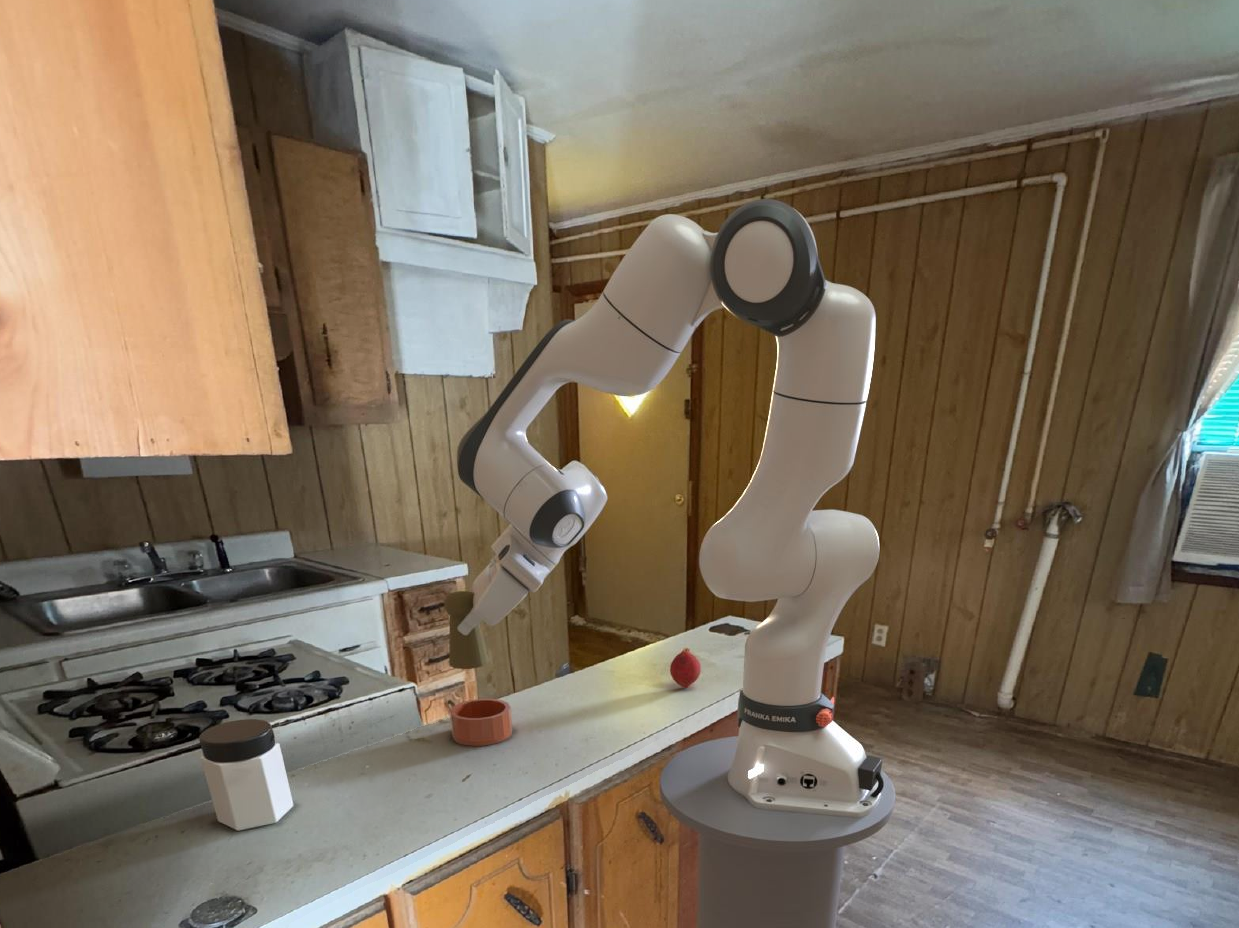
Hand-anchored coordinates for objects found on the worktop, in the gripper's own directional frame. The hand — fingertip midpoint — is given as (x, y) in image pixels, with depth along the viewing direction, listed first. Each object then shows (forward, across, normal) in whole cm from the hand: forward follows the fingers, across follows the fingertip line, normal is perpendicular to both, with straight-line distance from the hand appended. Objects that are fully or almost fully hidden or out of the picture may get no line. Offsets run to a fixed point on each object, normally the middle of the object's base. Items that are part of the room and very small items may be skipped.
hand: (461, 627), depth 112 cm
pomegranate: (-15, -16, +42) cm, 47 cm away
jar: (+33, +19, -7) cm, 39 cm away
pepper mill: (+4, 0, +5) cm, 6 cm away
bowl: (+12, -2, +14) cm, 19 cm away
